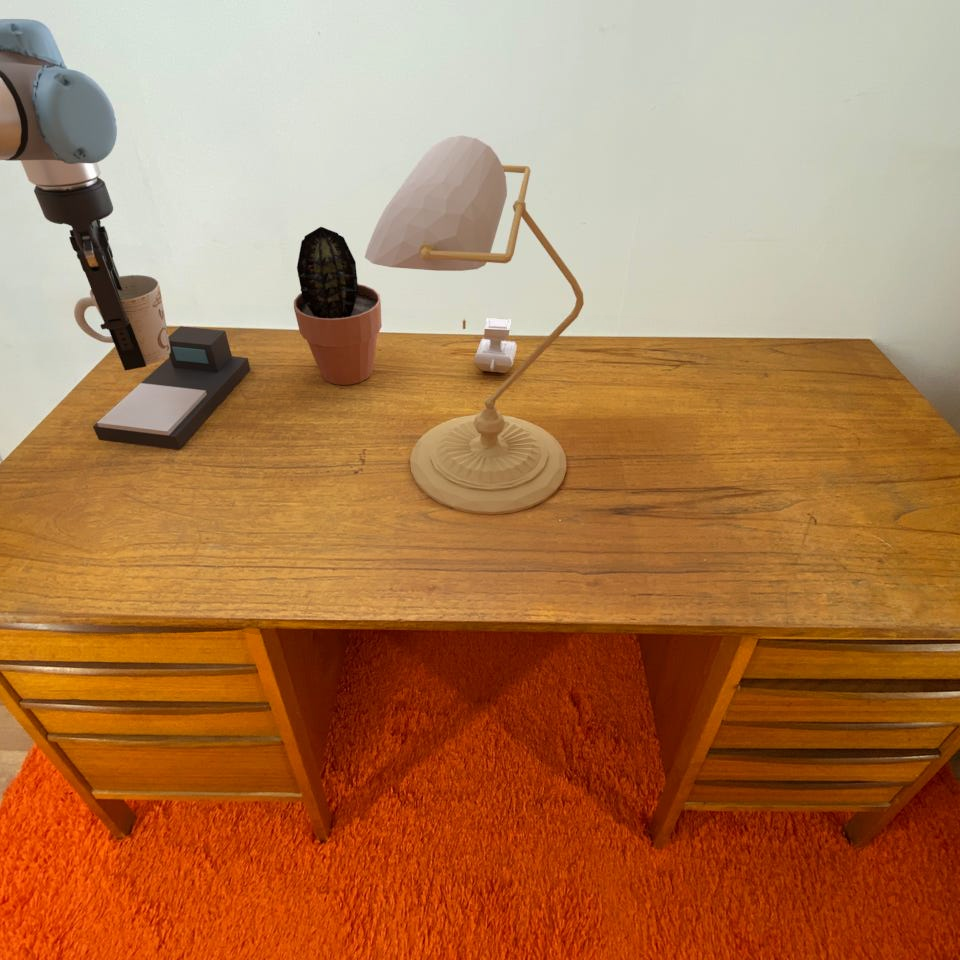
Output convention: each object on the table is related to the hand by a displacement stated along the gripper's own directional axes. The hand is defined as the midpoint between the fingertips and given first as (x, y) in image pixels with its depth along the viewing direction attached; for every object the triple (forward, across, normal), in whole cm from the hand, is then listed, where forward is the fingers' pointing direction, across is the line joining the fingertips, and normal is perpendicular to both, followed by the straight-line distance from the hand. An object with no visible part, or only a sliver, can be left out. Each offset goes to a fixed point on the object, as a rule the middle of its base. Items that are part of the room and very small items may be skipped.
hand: (133, 355), depth 90 cm
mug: (0, +1, 0) cm, 1 cm away
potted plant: (+12, +3, -30) cm, 33 cm away
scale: (+12, +5, -4) cm, 13 cm away
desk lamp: (+12, -29, -41) cm, 52 cm away
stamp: (+12, -6, -54) cm, 56 cm away
